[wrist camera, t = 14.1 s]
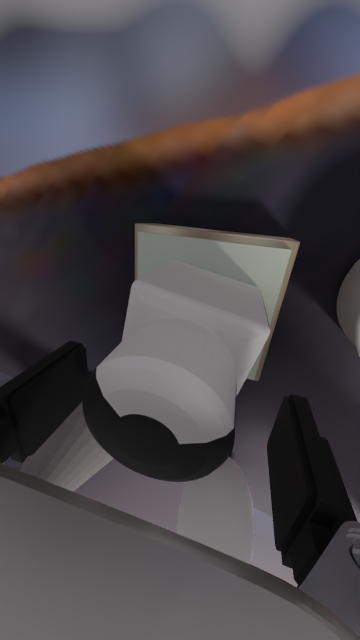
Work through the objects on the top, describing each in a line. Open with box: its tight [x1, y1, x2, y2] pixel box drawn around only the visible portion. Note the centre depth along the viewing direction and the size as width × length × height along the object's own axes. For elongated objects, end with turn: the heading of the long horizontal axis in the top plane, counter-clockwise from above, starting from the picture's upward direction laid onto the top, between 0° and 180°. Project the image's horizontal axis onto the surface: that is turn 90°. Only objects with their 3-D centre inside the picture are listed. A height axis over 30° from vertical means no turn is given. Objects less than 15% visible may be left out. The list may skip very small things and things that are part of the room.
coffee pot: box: [14, 402, 113, 492], centre depth 27 cm, size 21×12×15 cm, turn 84°
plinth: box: [135, 223, 300, 381], centre depth 20 cm, size 12×12×4 cm
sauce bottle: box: [177, 457, 254, 564], centre depth 22 cm, size 8×8×18 cm
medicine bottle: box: [82, 259, 270, 482], centre depth 13 cm, size 7×7×12 cm
